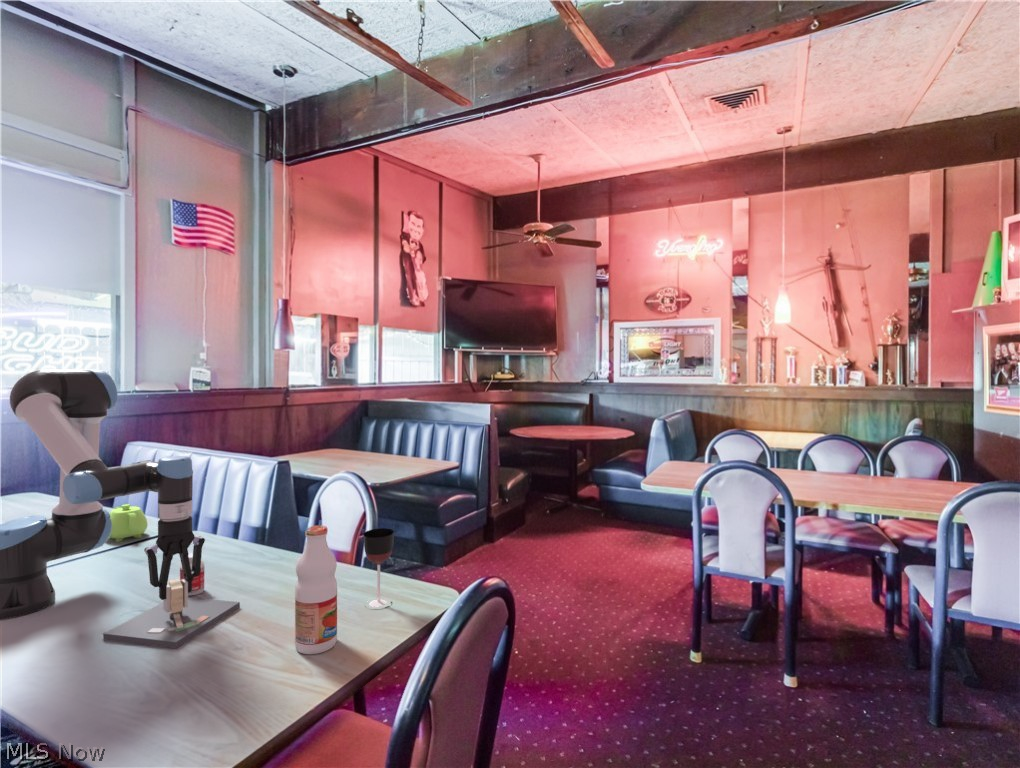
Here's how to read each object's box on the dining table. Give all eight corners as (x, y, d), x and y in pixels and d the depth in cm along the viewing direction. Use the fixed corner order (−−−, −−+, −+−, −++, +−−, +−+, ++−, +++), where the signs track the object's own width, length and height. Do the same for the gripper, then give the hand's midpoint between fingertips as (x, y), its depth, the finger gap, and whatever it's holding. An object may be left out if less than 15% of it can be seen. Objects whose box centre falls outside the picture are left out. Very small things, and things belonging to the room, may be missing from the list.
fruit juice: (298, 637, 131) (298, 523, 130) (338, 633, 133) (339, 521, 132) (291, 657, 122) (291, 535, 121) (335, 653, 124) (335, 532, 123)
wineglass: (399, 600, 152) (400, 530, 152) (380, 612, 144) (380, 539, 144) (377, 595, 156) (377, 526, 155) (356, 607, 148) (357, 535, 147)
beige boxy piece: (168, 612, 140) (167, 580, 139) (180, 609, 141) (180, 578, 141) (173, 630, 130) (173, 597, 129) (186, 627, 131) (186, 594, 131)
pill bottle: (205, 593, 155) (205, 556, 155) (180, 598, 152) (180, 560, 152) (203, 586, 160) (203, 549, 160) (179, 591, 157) (179, 553, 157)
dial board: (103, 639, 129) (103, 632, 129) (176, 601, 150) (176, 595, 150) (175, 648, 125) (175, 641, 125) (239, 607, 147) (239, 601, 147)
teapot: (97, 536, 207) (96, 503, 207) (137, 528, 217) (137, 497, 217) (113, 547, 194) (112, 512, 194) (155, 538, 205) (155, 505, 204)
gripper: (142, 527, 128) (143, 624, 129) (215, 513, 141) (215, 602, 141) (133, 521, 133) (133, 614, 134) (204, 508, 146) (204, 594, 146)
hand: (175, 607), depth 138 cm, fingers open, 3 cm apart
